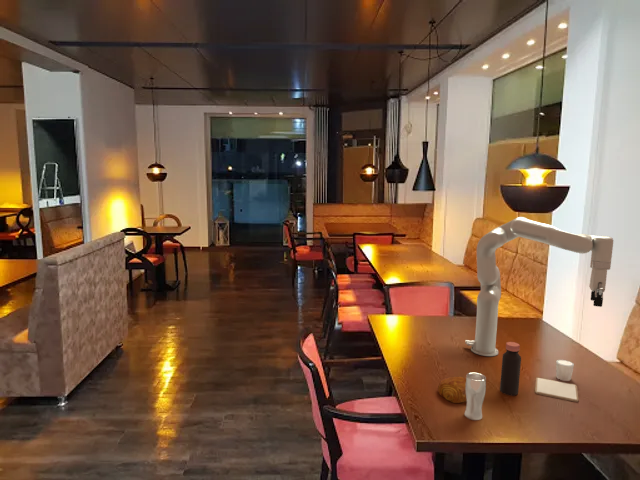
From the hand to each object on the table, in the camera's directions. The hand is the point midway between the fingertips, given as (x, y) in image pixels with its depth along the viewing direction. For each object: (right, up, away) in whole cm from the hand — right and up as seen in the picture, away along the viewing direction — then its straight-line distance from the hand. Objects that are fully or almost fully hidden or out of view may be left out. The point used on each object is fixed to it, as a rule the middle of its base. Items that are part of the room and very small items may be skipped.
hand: (596, 303), depth 205 cm
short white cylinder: (-16, -32, -3) cm, 36 cm away
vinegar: (-45, -33, -17) cm, 58 cm away
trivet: (-25, -33, -15) cm, 44 cm away
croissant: (-66, -34, -20) cm, 77 cm away
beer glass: (-65, -36, -36) cm, 83 cm away
